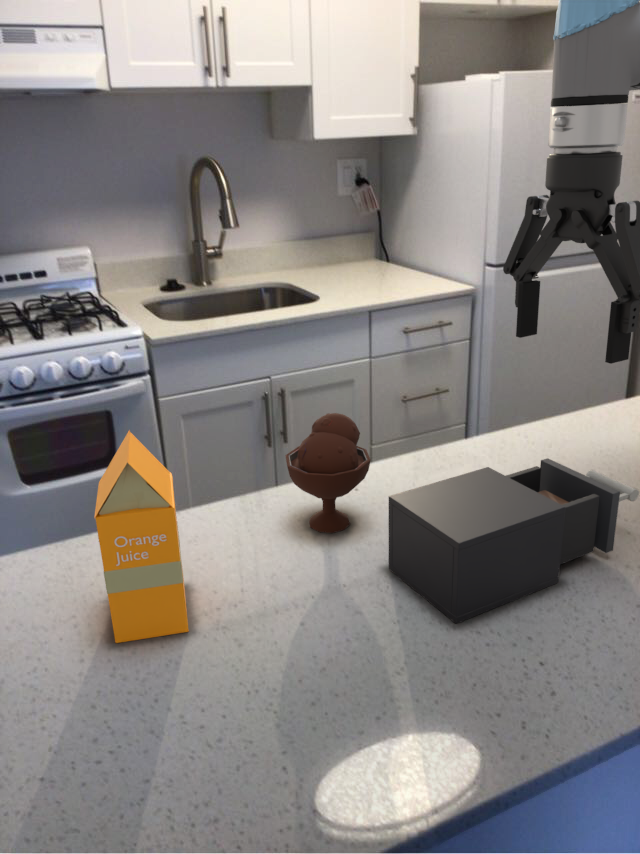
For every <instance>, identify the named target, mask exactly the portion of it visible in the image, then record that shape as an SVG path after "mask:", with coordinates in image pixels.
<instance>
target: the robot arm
mask: <svg viewBox="0 0 640 854" xmlns="http://www.w3.org/2000/svg"><path fill="white" fill-rule="evenodd" d="M552 37H553V57H552V58H553V61H552V78H551V79H552V80H551V81H552V82H551V100H550V110H549V112H550V113H549V127H548V143H547V146H548V147H549V148H550V149H553V153H550V154H548V155H549V156H547V157H546V165H545V166H546V169H545V182H544V183H545V184H544V186H545V189H546V190H548V191H549V195H548V194H542V195H541V194H540V195H531V196H528V197H527V199H526V202H525V210H524V216H523V219H522V221H521V224H520V226H519V228H518V231H517V233H516V236H515V238H514V240H513V242H512V245H511V248H510V249H509V252H508V255H507V257H506V260H505V262H504V264H503V268H502V269H503V274H505V275H510V276H511V277H513V281H514V282H515V294H514V295H515V296H514V297H515V298H514V304H515V308H517V309H516V310H517V311H516V312H517V313H516V326H515V327H516V328H515V329H516V330H515V337H516V338H520V339H521V338H526V337H530V336H535V335H538V327H539V309H540V308H539V307H540V295H541V280H537V279H539V278H540V277H539V275H538V274H539V273H540V271H541V270H542V269H543V267H544V266H545V265H546V264H547V262H548V261H549V260H550V258H551V257H552V256H553V255H554V253H555V252H556V251H557V249H558V248H559V246H560V245H561V244H562V243H563V242H569V241H572V242H574V243H576V244H586V246H587V248H588V249H590V250H592V251H593V253H594V254H595V256H596V257H595V258H596V259H597V260H598V262H599V265H600V266H601V268H602V270H603V272H604V275H605V276H606V278H607V280H608V282H609V283H610V285H611V287H612V289H613V291H614V293H615V295H616V297H617V299H615V300H613V301H611V302H610V309H609V310H610V311H609V319H608V330H607V340H606V351H605V358H604V359H605V360H604V363H607V364H609V365H611V364H616V363H619V362H623V361H629V358H630V349H631V340H632V333H635V332H636V330H637V329H638V326H639V316H640V200H630V201H620V202H618V203H616V199H615V193H616V190H617V189H618V188H619V186H620V184H621V176H622V167H623V166H622V165H623V157H624V156H623V154H622V153H621V151H618V147H620V146H623V145H624V144H625V138H626V129H627V128H626V126H627V115H628V103H629V94H630V91H631V92H632V91H640V0H558V4H557V10H556V15H555V25H554V34H553V35H552ZM547 218H549V220H548V221H547ZM546 221H547V222H546ZM612 223H614V226H613V224H612Z"/></svg>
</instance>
